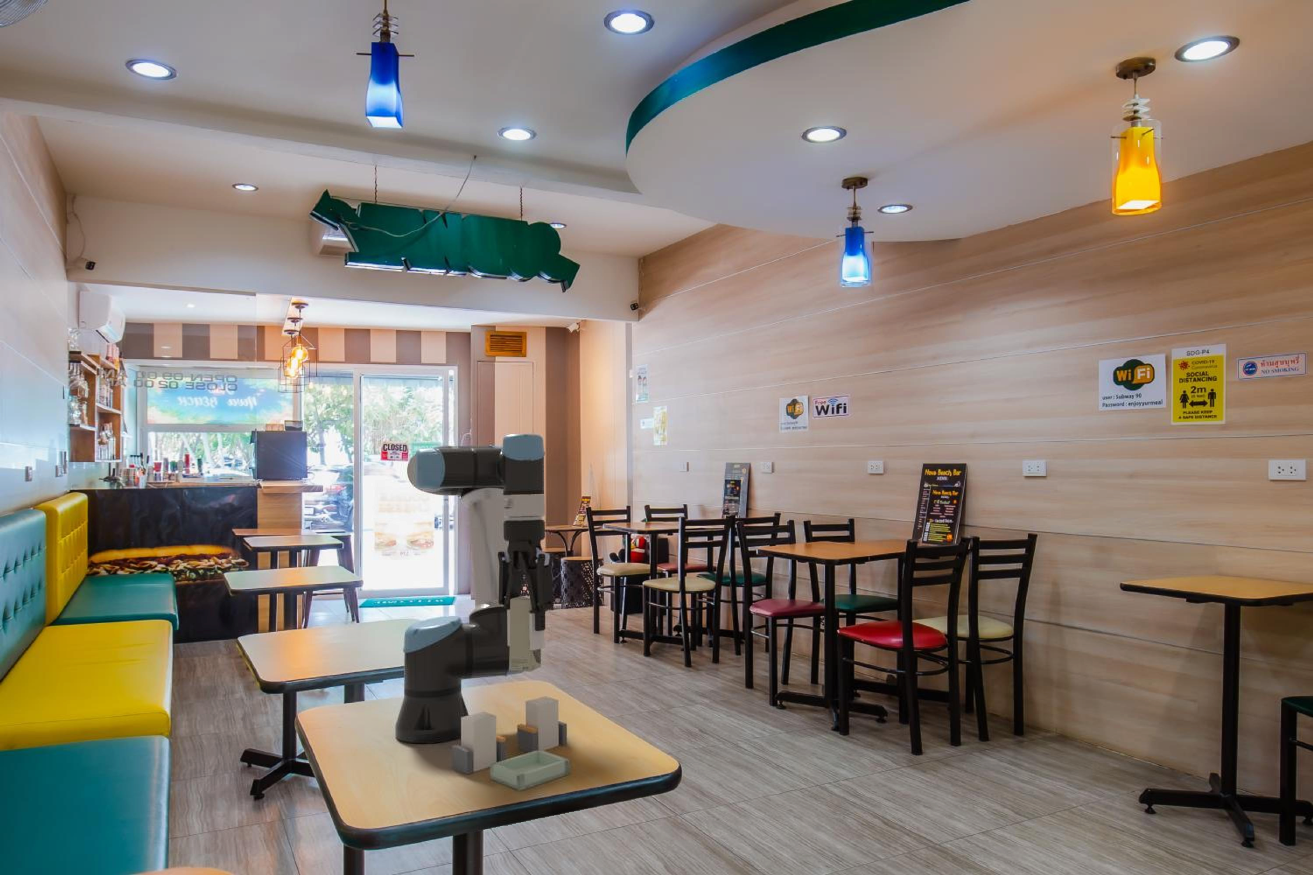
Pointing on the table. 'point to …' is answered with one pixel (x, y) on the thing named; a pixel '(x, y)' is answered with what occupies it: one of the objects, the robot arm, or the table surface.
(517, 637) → the box
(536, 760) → the tray
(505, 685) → the table surface
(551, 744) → the tall white pillar
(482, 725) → the tall white upright block
